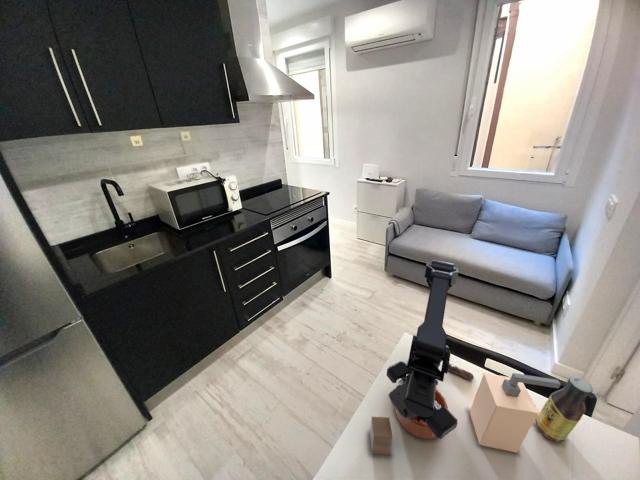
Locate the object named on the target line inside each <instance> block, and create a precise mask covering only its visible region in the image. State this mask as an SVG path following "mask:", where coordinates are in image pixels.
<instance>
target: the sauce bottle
mask: <svg viewBox="0 0 640 480" xmlns="http://www.w3.org/2000/svg"><path fill="white" fill-rule="evenodd" d="M566 381H567V383H566V385H565V386H564V387H562V388H560V389H558V390H556V391H554V392H552V393H551V394H550V395H549V397H548V399H547V400H546V402H545V403H544V405H543V406H542V408H541V410H540V411H539V414H538V415H537V417H536V419H535V425H536V427H537V429H538V430H539V432H540V433H541V434H542V435H543V436H544V437H546V439H548V440H550V441H552V442H557V443H558V442H560V443H561V442H564V440H566V439H567V438H568V436H569V435H570V434H571V432H572V431H573V430H574V428H575V427H576V426H577V424H579V422H580V421H581V419H582V417H583V416H584V415H585V413H586V409H587V408H586V402H585V401H586V399H587V397H588V396H591V394H592V393H593V392H594V388H593V385H592V384H591V383H589V381H587V380H586V379H584V378H582V377H580V376H577V375H572V376H569V378H568V379H567V380H566Z"/></svg>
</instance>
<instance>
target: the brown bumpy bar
mask: <svg viewBox="0 0 640 480" xmlns="http://www.w3.org/2000/svg"><path fill="white" fill-rule="evenodd" d="M448 371H449V372H451V373H453V374H455V375H457V376H460V377H462V378H464V379H466V380H468V381H473V380H474V379H475V375H473V373H472V372H470V371H467V370H465V369H463V368H461V367H459V366H456V365H454V364H452V363H450V362H449V367H448Z"/></svg>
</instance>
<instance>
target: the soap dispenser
mask: <svg viewBox="0 0 640 480" xmlns="http://www.w3.org/2000/svg"><path fill="white" fill-rule="evenodd" d="M525 384H528V385H534V386H541V387H547V388H552V389H559V388H560V387H561V385H562V384H561V382H560V380H558V379H554V378H548V377H542V376H535V375H529V374H521V373H515V372H513V373H512V374H511V376H506V375H498V374H494V373H493V374H491V373H485V372H483V375H482V376H481V380H480V383H479V385H478V387H477V390H476V394H475V396H474V399H473V402H472V404H471V406H470V410H469V414H470V417H471V421H472V425H473V428H474V431H475V434H476V438H477V441H478V444H479V446H482V447H483V446H484V447H488V448H493V449H497V450H502V451H506V452H507V451H508V452H512V453H515V454H516V453H517V452H518V451H519V449H520V447H521V445H522V444H523V442H524V440H525V438H526V437H527V435H528V433H529V431H530V430H531V428H532V427H533V424H534V423H535V422H536V420H537V416H538V415H539V413H540V411H539V410H538V408H537V406H536V404H535V402H534V401H533V399H532V397H531V394H530V393H529V391H528V390H527V388H526V386H525Z"/></svg>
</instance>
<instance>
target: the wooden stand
mask: <svg viewBox="0 0 640 480" xmlns="http://www.w3.org/2000/svg"><path fill="white" fill-rule="evenodd" d="M369 429H370V430H369V442H370V451H371V454H372V455H384V456H390V453H391V447H392V442H393V432H392V425H391V419H390V417H387V416H371V419H370V428H369Z"/></svg>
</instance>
